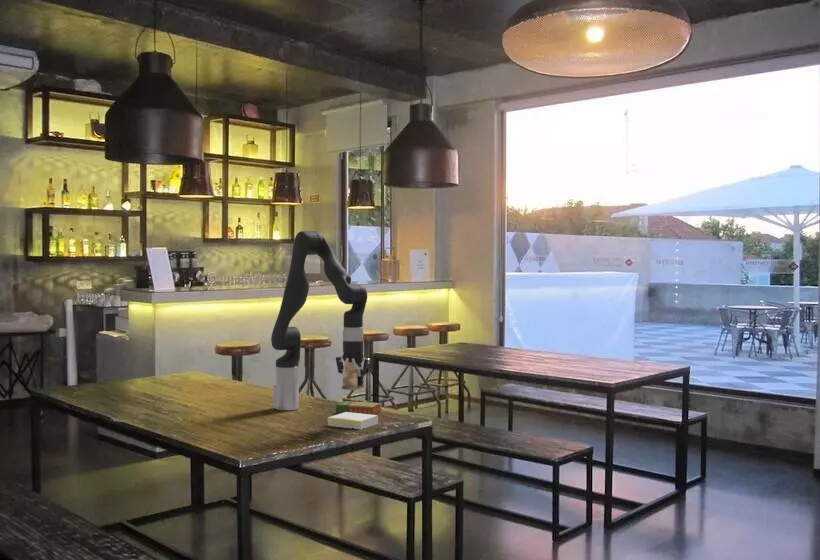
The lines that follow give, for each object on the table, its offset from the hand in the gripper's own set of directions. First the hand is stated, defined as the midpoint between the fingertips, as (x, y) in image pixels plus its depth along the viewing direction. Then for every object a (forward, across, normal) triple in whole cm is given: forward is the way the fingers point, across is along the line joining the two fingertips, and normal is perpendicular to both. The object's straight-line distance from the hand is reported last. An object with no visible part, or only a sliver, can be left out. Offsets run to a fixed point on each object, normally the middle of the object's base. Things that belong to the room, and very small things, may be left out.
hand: (353, 385), depth 283 cm
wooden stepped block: (+1, 0, 0) cm, 1 cm away
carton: (+15, -10, +20) cm, 27 cm away
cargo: (-5, 0, 0) cm, 5 cm away
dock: (+14, 0, 0) cm, 14 cm away
